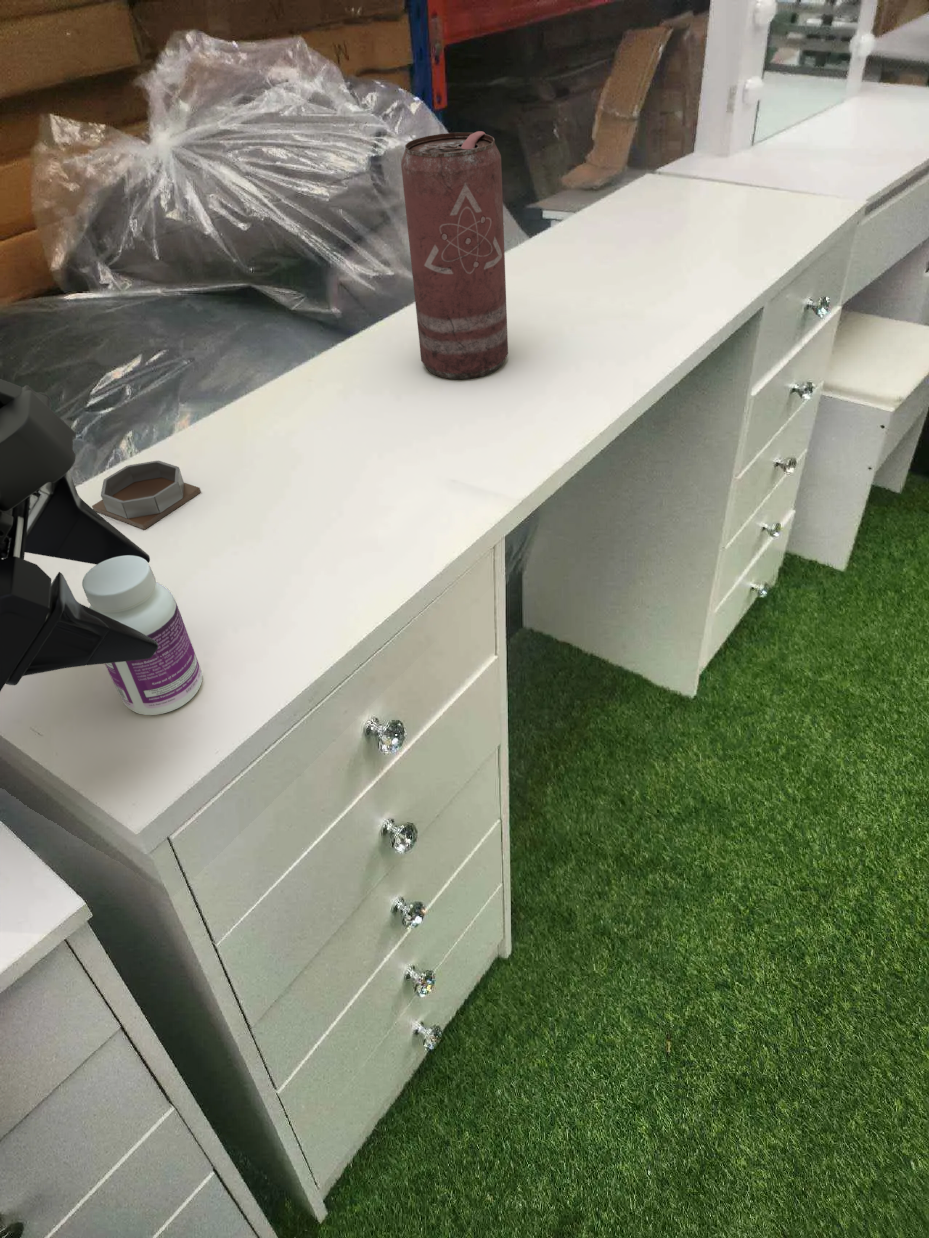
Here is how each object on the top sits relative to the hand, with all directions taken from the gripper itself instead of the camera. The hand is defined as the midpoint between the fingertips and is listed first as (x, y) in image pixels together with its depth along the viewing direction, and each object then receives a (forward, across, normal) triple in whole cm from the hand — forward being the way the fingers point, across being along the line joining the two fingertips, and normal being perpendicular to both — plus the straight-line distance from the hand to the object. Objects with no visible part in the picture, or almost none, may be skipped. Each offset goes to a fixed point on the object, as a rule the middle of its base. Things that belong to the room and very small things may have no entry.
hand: (150, 604), depth 54 cm
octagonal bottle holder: (+4, +25, +6) cm, 26 cm away
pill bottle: (+4, 0, +6) cm, 7 cm away
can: (+29, +40, -19) cm, 53 cm away
